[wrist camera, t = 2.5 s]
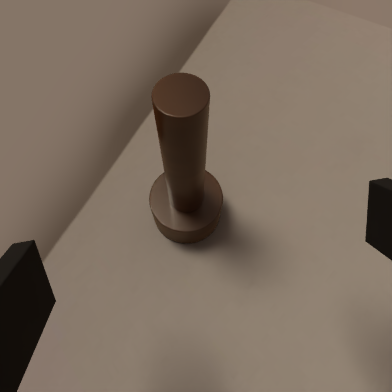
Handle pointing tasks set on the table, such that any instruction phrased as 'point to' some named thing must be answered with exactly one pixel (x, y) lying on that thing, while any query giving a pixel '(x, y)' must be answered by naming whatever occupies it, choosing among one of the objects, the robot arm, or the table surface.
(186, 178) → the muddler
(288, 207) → the table surface
